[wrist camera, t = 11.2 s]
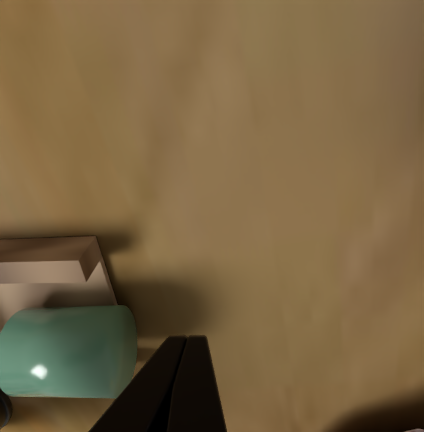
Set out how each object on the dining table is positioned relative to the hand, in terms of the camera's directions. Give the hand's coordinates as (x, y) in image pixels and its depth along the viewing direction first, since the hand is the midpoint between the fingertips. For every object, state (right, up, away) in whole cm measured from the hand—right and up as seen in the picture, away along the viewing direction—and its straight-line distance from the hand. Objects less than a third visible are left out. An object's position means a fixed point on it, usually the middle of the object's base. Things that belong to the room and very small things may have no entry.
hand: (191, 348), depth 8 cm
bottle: (-5, -5, +14) cm, 16 cm away
